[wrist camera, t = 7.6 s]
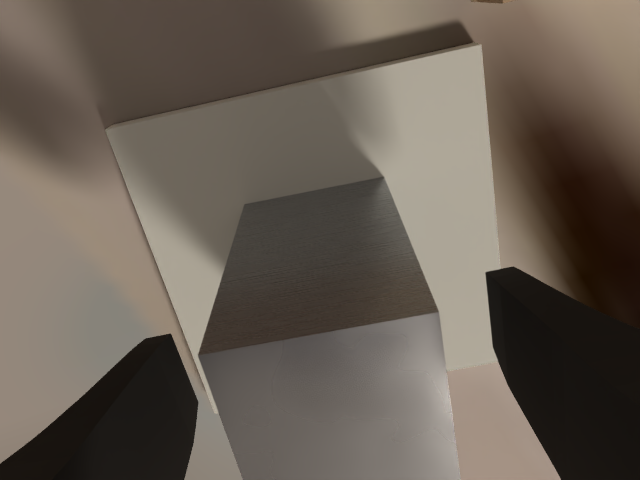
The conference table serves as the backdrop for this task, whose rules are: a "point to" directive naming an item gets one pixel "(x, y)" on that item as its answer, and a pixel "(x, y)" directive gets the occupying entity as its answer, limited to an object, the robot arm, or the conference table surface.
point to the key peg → (329, 344)
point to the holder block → (493, 1)
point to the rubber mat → (327, 179)
